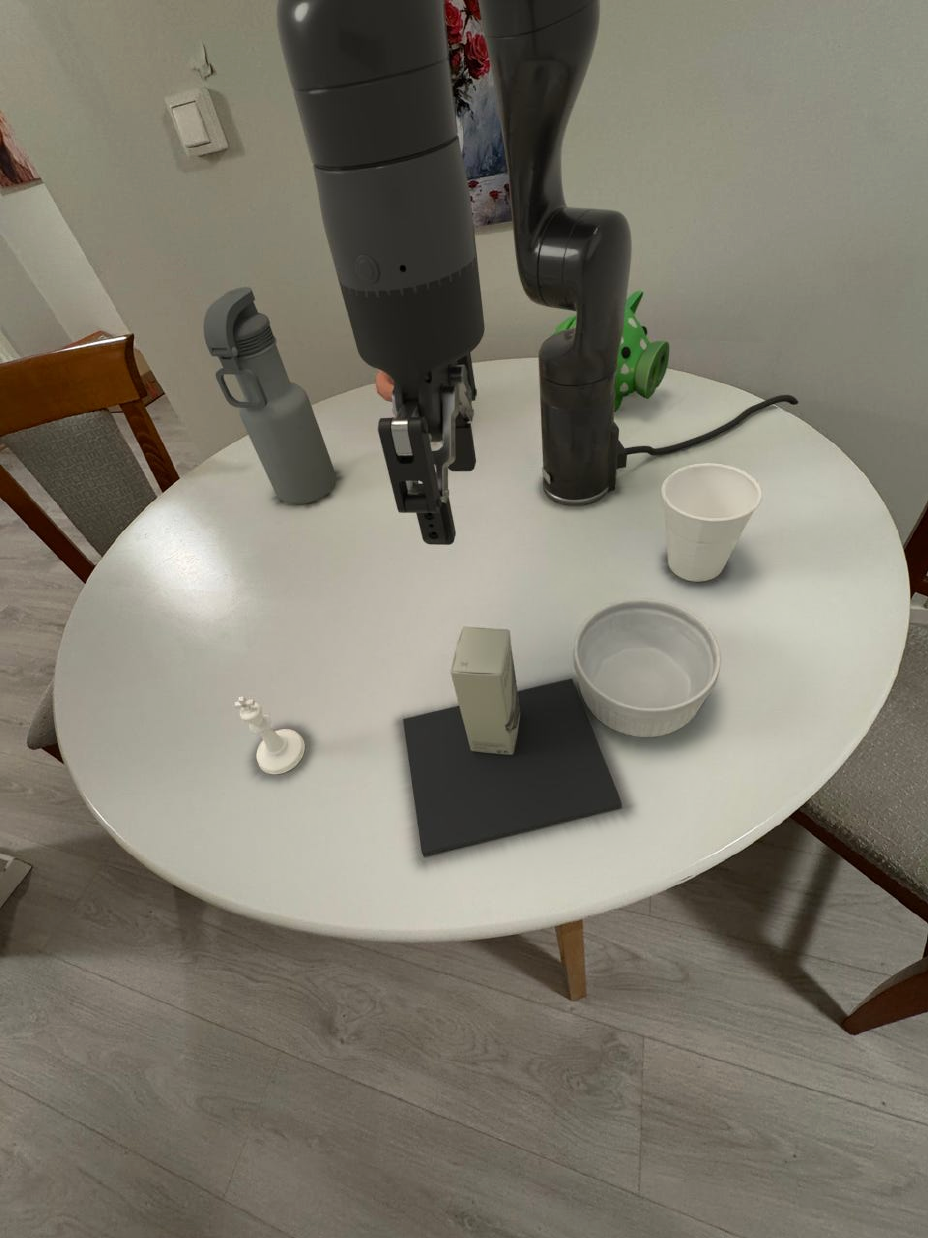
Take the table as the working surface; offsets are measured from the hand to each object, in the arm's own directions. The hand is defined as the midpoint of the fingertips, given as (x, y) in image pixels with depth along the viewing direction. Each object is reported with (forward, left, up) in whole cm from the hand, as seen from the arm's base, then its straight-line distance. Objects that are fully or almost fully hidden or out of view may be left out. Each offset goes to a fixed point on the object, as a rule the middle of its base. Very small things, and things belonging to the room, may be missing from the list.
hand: (452, 502), depth 43 cm
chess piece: (+22, +1, -25) cm, 34 cm away
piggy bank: (-31, -52, -25) cm, 65 cm away
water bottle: (+19, -46, -25) cm, 56 cm away
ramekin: (-15, +4, -25) cm, 30 cm away
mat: (0, +8, -25) cm, 26 cm away
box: (0, +5, -24) cm, 25 cm away
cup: (-28, -11, -25) cm, 39 cm away
